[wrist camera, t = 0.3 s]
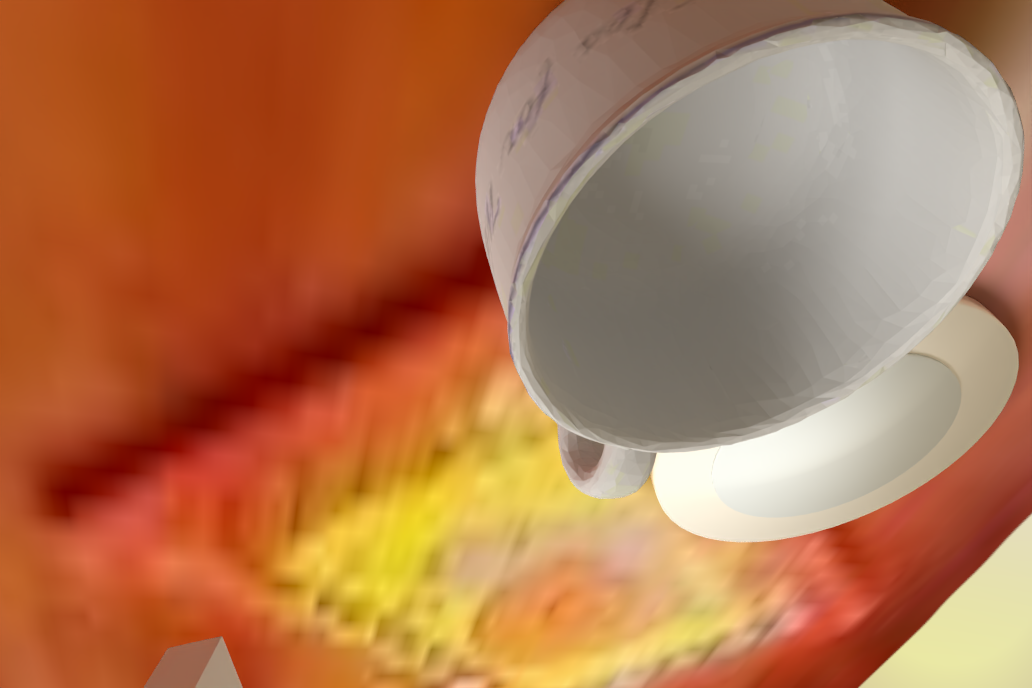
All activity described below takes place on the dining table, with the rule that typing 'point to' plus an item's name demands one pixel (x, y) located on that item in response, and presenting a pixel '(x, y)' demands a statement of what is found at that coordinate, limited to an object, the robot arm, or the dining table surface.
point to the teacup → (732, 213)
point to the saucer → (851, 442)
